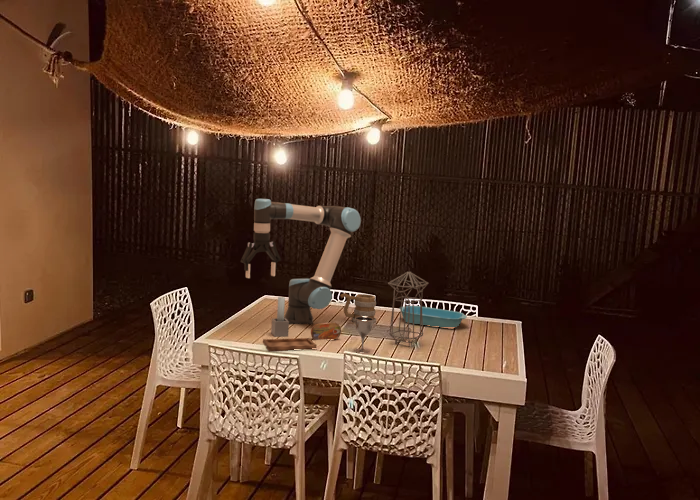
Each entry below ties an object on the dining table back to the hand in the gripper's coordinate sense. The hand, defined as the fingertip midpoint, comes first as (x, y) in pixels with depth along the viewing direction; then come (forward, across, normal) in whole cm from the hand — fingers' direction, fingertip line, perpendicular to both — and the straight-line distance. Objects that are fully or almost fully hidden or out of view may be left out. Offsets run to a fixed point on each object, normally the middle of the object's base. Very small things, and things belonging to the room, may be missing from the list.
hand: (260, 276), depth 312 cm
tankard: (+29, -63, -4) cm, 70 cm away
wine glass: (+29, -28, +44) cm, 60 cm away
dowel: (+27, -7, +7) cm, 29 cm away
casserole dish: (+30, -98, +17) cm, 104 cm away
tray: (+28, -2, +24) cm, 37 cm away
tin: (+29, -24, +21) cm, 43 cm away
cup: (+28, -7, +7) cm, 30 cm away
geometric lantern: (+29, -55, +42) cm, 75 cm away
